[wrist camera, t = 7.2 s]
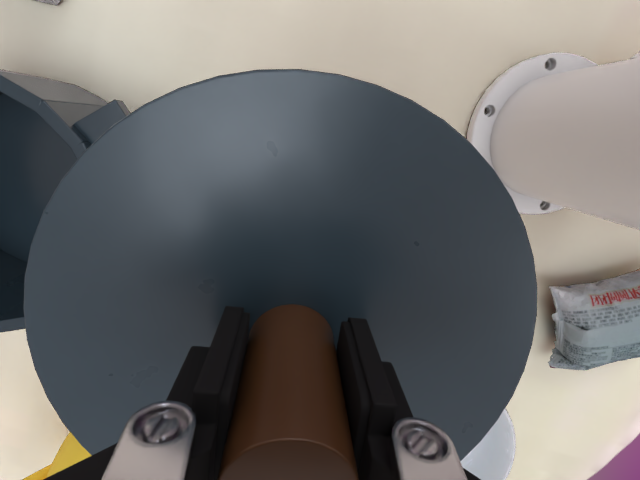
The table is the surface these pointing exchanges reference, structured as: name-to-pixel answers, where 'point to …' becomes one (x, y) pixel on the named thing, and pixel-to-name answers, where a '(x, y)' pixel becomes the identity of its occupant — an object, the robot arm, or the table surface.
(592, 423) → the table surface
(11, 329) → the pot
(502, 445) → the cereal bowl
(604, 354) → the packaged food
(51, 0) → the flask
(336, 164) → the pot lid
